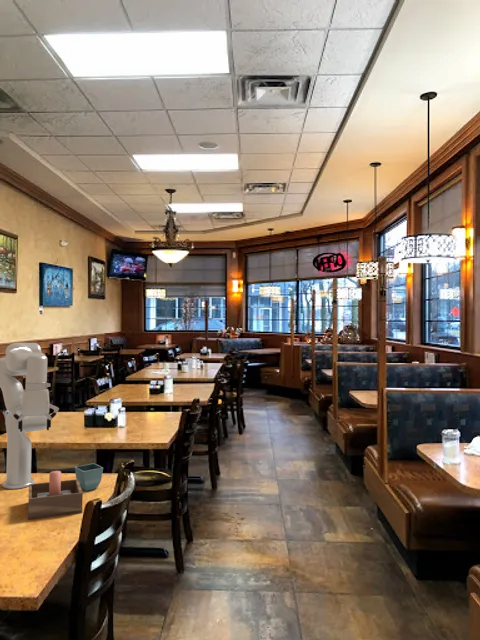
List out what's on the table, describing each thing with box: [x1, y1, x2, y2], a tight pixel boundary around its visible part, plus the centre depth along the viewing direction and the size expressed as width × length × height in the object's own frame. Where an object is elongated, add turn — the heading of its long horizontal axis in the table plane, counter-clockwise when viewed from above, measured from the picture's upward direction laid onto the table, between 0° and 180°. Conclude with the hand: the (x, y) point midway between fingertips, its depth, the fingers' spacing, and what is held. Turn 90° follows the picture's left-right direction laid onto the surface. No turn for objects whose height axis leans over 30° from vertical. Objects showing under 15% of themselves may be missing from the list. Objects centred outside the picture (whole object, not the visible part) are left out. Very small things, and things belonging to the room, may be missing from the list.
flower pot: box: [74, 463, 104, 492], centre depth 204 cm, size 9×9×9 cm
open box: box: [27, 478, 84, 520], centre depth 182 cm, size 18×18×7 cm
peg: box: [48, 470, 62, 496], centre depth 182 cm, size 4×4×12 cm
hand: (34, 430), depth 191 cm, fingers open, 9 cm apart
